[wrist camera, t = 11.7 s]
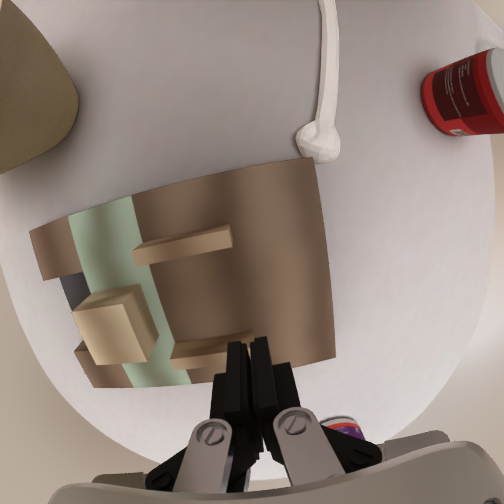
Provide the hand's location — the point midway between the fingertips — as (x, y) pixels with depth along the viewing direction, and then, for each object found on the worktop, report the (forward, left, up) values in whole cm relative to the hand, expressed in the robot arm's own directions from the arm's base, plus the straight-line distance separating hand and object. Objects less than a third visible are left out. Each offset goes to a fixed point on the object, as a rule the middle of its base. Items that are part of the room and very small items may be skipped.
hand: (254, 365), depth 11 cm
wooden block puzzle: (+6, +1, -14) cm, 15 cm away
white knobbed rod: (-11, -21, -14) cm, 28 cm away
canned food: (-25, -13, -14) cm, 31 cm away
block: (+11, +1, -11) cm, 15 cm away
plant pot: (+16, -19, -14) cm, 29 cm away
